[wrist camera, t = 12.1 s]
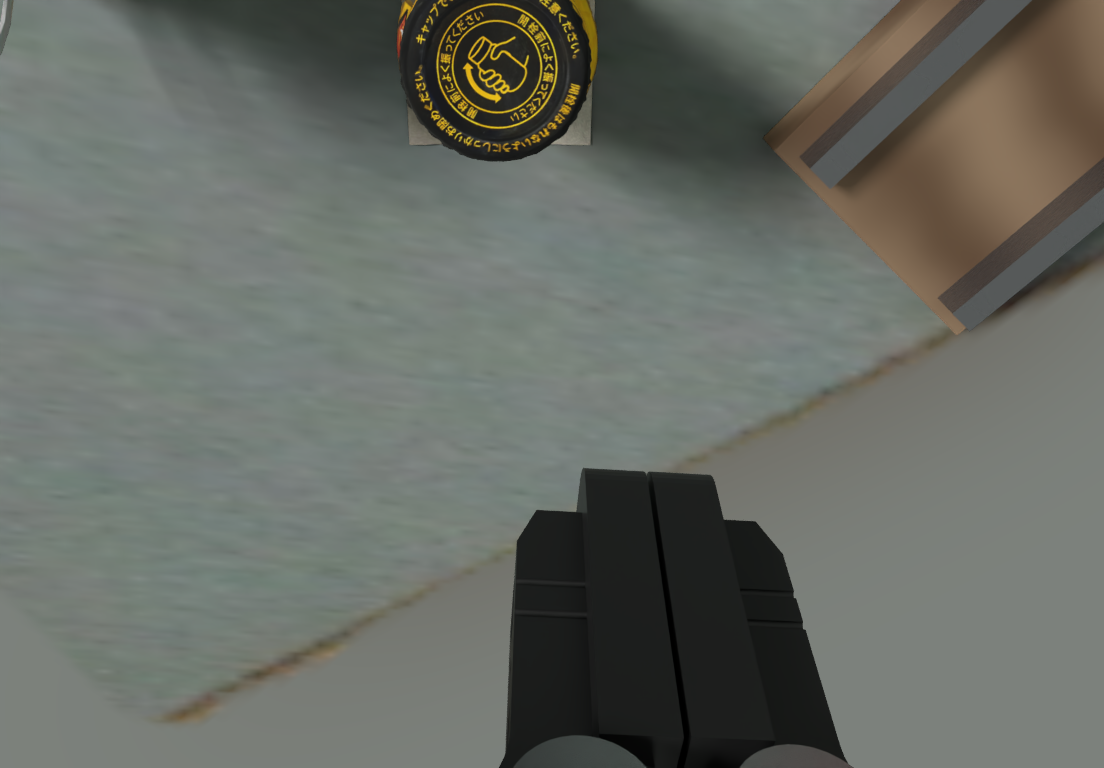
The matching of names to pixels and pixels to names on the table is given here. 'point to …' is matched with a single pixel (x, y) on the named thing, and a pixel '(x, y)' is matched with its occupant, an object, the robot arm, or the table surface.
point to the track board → (961, 139)
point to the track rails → (902, 92)
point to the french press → (5, 22)
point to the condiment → (498, 74)
